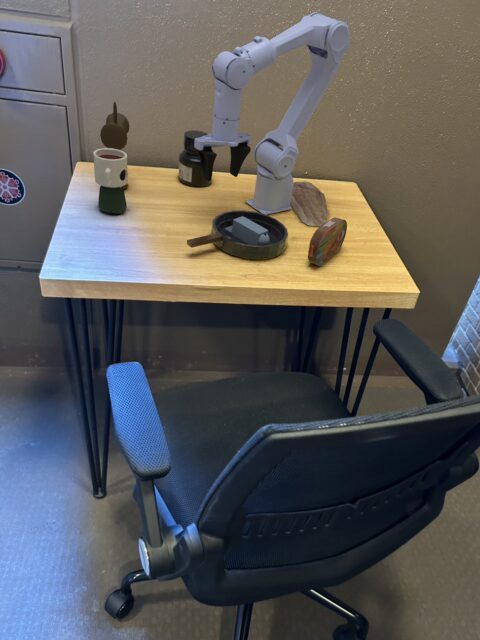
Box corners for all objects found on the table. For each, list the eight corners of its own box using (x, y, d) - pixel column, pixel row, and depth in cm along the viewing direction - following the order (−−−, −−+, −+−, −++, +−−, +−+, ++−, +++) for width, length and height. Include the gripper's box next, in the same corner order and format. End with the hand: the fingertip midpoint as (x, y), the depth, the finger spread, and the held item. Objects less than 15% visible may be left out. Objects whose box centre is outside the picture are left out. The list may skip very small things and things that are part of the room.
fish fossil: (339, 227, 135) (340, 223, 134) (300, 228, 133) (301, 224, 132) (313, 183, 153) (314, 180, 152) (279, 184, 151) (279, 180, 150)
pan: (254, 218, 131) (256, 205, 129) (300, 251, 122) (303, 237, 120) (196, 231, 121) (197, 217, 119) (241, 267, 112) (243, 253, 110)
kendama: (103, 193, 128) (98, 106, 115) (107, 177, 135) (103, 93, 122) (128, 196, 129) (126, 110, 116) (131, 180, 136) (130, 97, 123)
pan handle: (217, 236, 116) (218, 232, 115) (222, 240, 115) (222, 236, 114) (186, 244, 111) (186, 239, 111) (191, 248, 110) (191, 243, 110)
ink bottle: (176, 172, 145) (178, 127, 137) (208, 174, 147) (211, 129, 140) (180, 187, 138) (182, 140, 130) (213, 189, 140) (217, 143, 133)
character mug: (125, 222, 119) (124, 165, 111) (92, 218, 118) (88, 161, 110) (131, 201, 127) (130, 147, 119) (100, 198, 126) (97, 143, 118)
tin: (314, 271, 116) (322, 237, 111) (302, 266, 117) (309, 231, 112) (343, 248, 126) (352, 215, 121) (331, 243, 127) (340, 211, 122)
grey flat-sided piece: (223, 230, 123) (225, 215, 120) (235, 226, 125) (237, 212, 123) (261, 252, 118) (263, 237, 115) (272, 248, 120) (274, 232, 118)
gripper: (209, 124, 108) (204, 188, 117) (263, 120, 117) (255, 180, 125) (190, 113, 112) (187, 175, 121) (244, 109, 120) (237, 168, 129)
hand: (220, 177), depth 123 cm, fingers open, 7 cm apart
